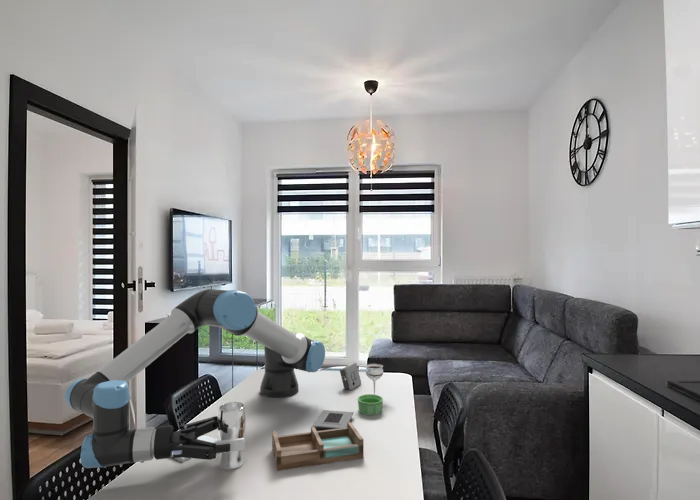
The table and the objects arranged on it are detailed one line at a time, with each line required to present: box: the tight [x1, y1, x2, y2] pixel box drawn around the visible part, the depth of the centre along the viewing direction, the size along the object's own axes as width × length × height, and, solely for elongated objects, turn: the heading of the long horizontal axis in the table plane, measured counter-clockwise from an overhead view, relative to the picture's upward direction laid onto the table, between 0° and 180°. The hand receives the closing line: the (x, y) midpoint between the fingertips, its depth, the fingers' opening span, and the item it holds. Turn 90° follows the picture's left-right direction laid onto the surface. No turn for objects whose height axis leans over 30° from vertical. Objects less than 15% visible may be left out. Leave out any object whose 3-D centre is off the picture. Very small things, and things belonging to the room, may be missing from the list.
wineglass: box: [365, 363, 384, 395], centre depth 156 cm, size 7×7×12 cm
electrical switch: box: [339, 362, 362, 391], centre depth 169 cm, size 9×5×9 cm, turn 152°
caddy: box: [271, 421, 365, 472], centre depth 112 cm, size 12×23×5 cm, turn 107°
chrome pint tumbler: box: [217, 401, 246, 471], centre depth 106 cm, size 7×7×15 cm
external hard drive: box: [170, 434, 220, 463], centre depth 115 cm, size 2×8×12 cm
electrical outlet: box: [312, 409, 354, 430], centre depth 132 cm, size 13×10×2 cm
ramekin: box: [356, 393, 384, 416], centre depth 143 cm, size 9×9×4 cm
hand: (243, 432), depth 107 cm, fingers open, 13 cm apart
